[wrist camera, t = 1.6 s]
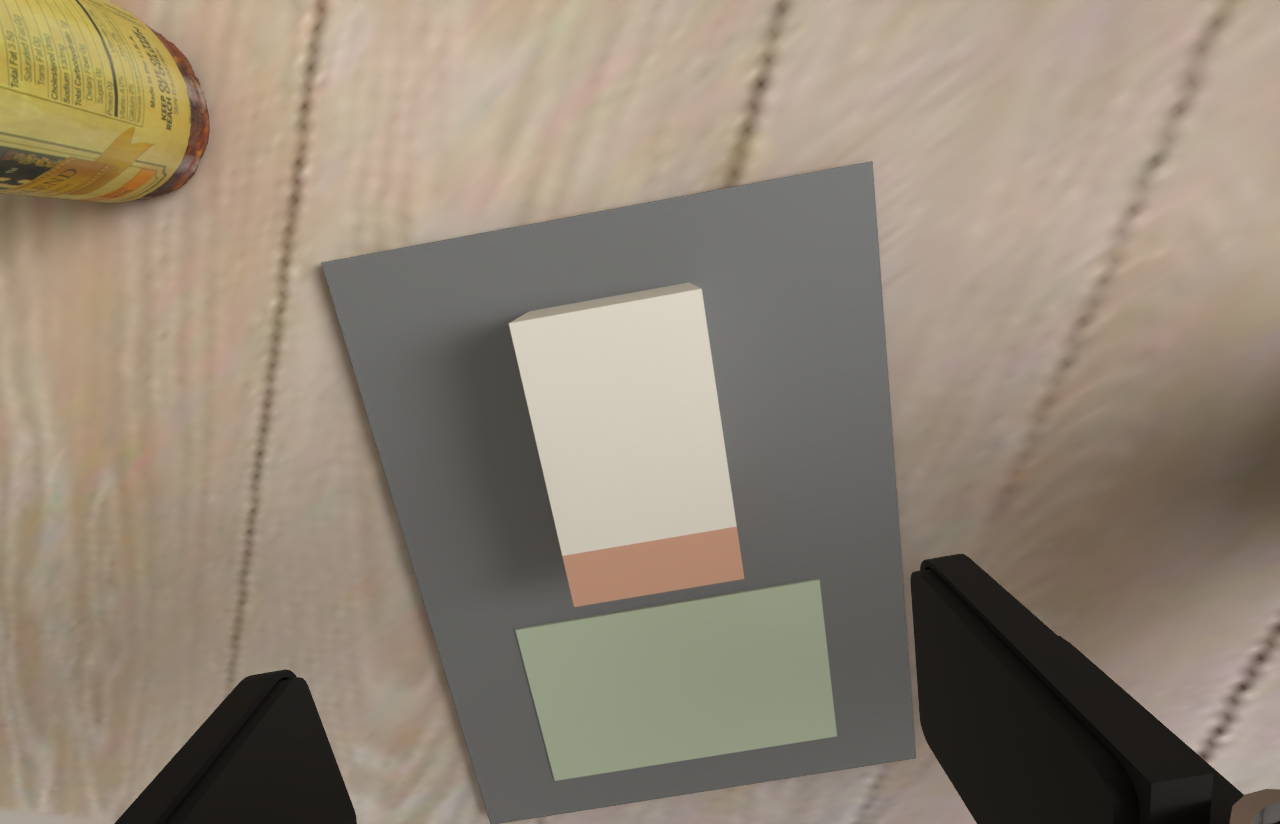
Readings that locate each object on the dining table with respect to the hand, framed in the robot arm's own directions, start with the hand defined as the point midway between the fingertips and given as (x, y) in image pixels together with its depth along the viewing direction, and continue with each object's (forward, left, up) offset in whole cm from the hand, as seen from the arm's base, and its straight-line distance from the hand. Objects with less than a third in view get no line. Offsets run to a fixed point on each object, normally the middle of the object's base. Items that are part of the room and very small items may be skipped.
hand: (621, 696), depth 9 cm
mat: (0, +5, -16) cm, 16 cm away
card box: (0, 0, -15) cm, 15 cm away
